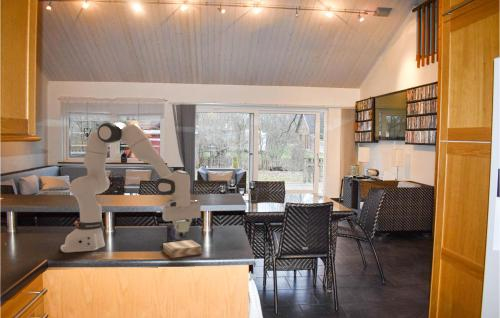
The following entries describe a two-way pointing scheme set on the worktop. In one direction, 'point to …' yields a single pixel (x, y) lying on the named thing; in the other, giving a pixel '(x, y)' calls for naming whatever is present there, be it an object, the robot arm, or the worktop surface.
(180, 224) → the sage cube
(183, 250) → the birch platform
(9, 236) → the worktop surface
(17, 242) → the worktop surface
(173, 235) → the small box
